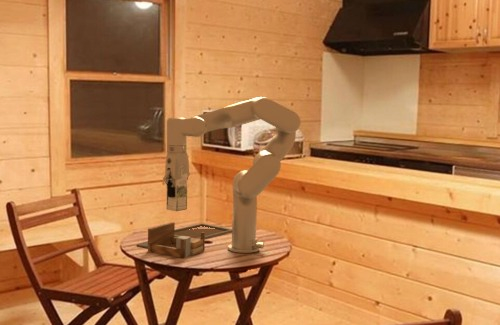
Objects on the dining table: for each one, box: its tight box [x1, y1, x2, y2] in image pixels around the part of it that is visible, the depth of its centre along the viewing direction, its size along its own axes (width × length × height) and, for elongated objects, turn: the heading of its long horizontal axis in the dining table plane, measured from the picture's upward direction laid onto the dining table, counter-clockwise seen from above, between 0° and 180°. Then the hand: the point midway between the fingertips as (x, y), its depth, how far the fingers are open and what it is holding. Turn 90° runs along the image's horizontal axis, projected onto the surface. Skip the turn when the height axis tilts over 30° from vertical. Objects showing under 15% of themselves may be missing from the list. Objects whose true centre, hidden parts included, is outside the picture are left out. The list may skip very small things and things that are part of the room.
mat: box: [136, 240, 148, 249], centre depth 234 cm, size 7×7×1 cm
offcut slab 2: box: [190, 246, 204, 256], centre depth 226 cm, size 5×6×2 cm
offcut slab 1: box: [191, 238, 203, 249], centre depth 226 cm, size 5×6×2 cm
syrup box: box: [166, 173, 188, 212], centre depth 225 cm, size 6×6×14 cm
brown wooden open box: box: [147, 221, 206, 259], centre depth 227 cm, size 16×16×9 cm
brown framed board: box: [174, 222, 232, 240], centre depth 259 cm, size 19×2×30 cm
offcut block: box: [175, 236, 191, 258], centre depth 221 cm, size 4×4×7 cm
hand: (176, 195), depth 225 cm, fingers closed on syrup box, 6 cm apart
